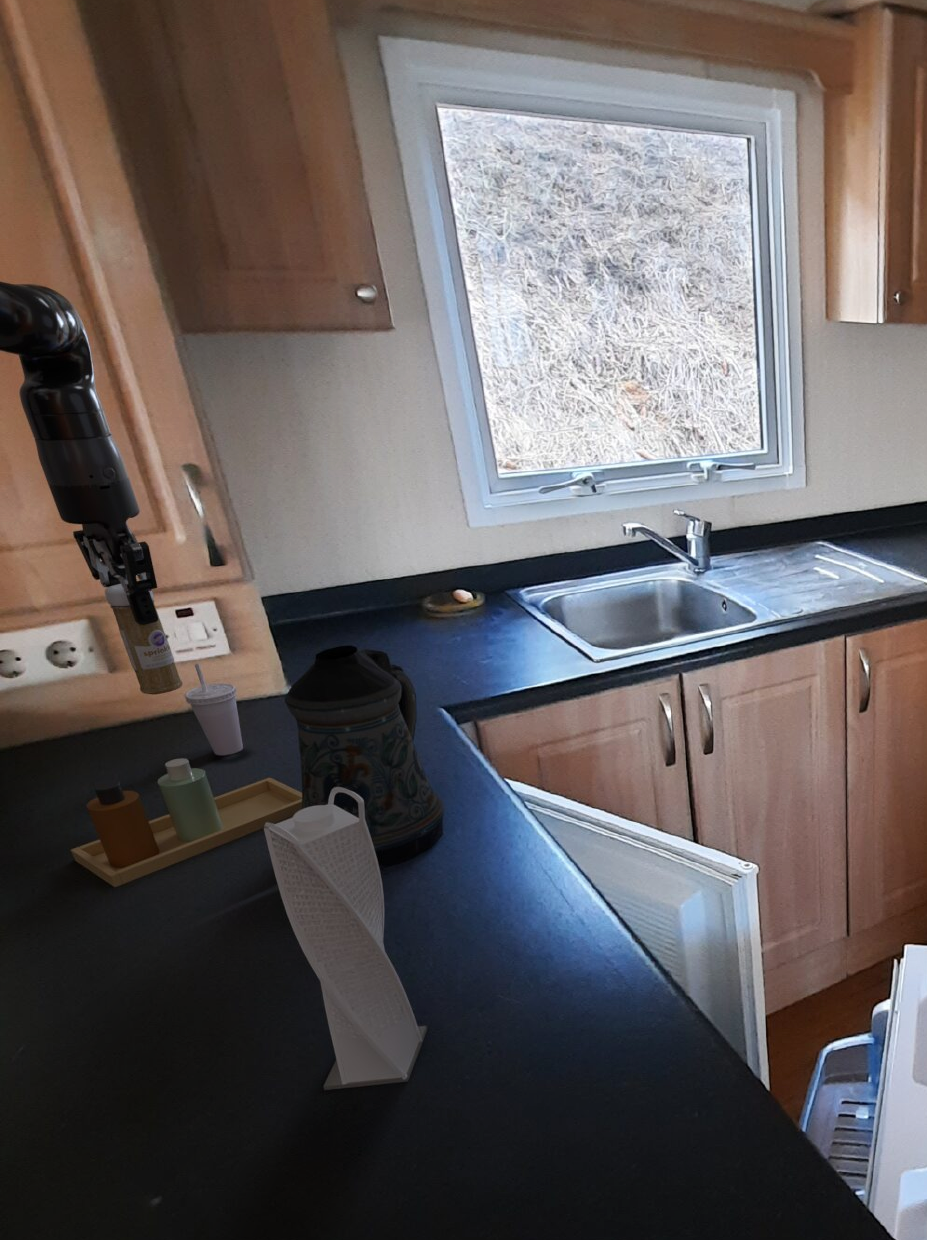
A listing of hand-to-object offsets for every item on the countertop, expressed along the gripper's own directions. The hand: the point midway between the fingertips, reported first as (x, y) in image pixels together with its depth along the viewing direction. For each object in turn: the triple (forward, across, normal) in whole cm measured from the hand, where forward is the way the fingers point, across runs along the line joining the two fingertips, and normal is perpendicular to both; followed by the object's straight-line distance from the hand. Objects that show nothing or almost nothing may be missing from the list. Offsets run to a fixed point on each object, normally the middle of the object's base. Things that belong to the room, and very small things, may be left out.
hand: (137, 618), depth 120 cm
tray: (+27, +8, -4) cm, 28 cm away
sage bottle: (+26, +8, -4) cm, 28 cm away
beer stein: (+27, +26, +9) cm, 38 cm away
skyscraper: (+27, +65, -15) cm, 72 cm away
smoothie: (+27, -16, +11) cm, 33 cm away
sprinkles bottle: (+10, 0, 0) cm, 10 cm away
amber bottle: (+26, +8, -12) cm, 29 cm away
